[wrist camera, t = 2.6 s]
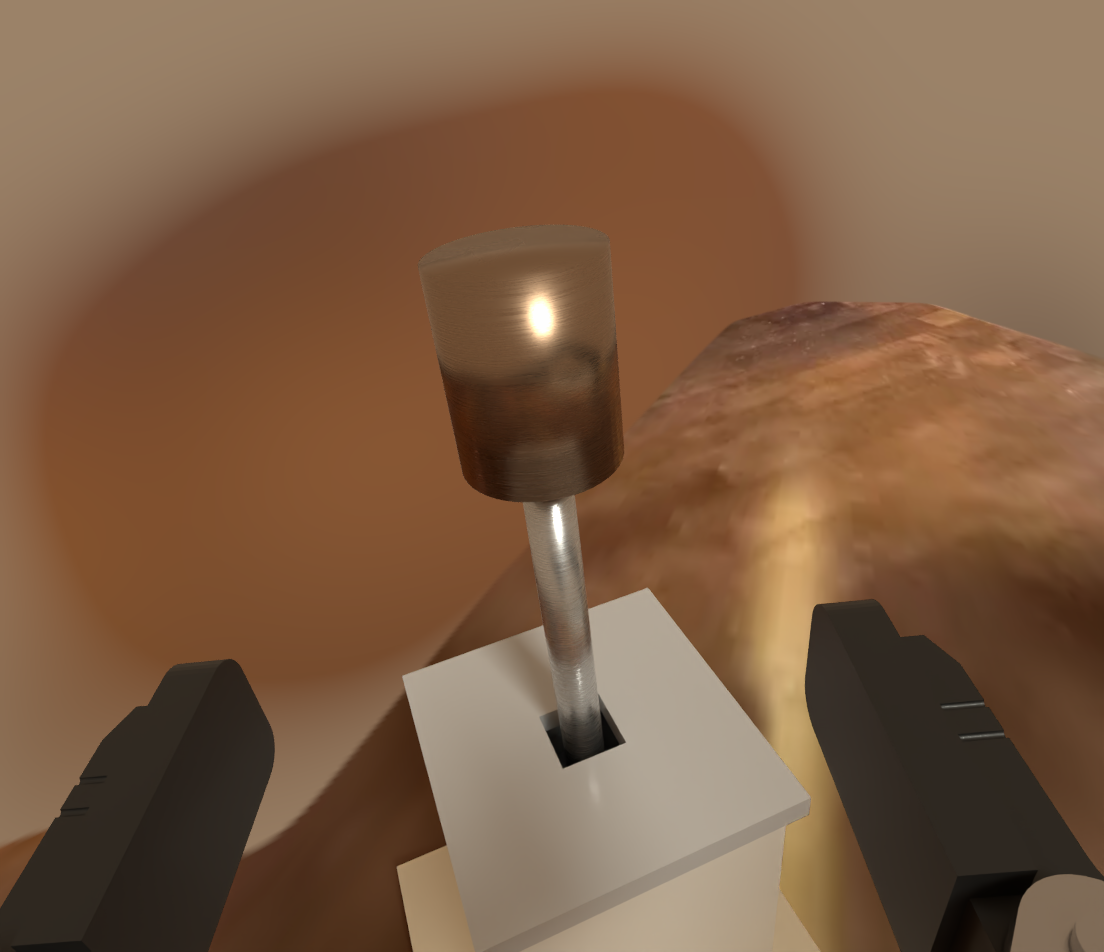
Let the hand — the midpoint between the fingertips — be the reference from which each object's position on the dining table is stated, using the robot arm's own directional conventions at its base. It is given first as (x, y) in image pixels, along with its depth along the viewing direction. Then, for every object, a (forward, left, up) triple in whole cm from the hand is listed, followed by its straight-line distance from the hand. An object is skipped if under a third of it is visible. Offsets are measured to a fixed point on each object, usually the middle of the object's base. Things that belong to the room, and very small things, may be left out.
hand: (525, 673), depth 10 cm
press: (-4, -10, -36) cm, 37 cm away
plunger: (-4, -10, -21) cm, 23 cm away
